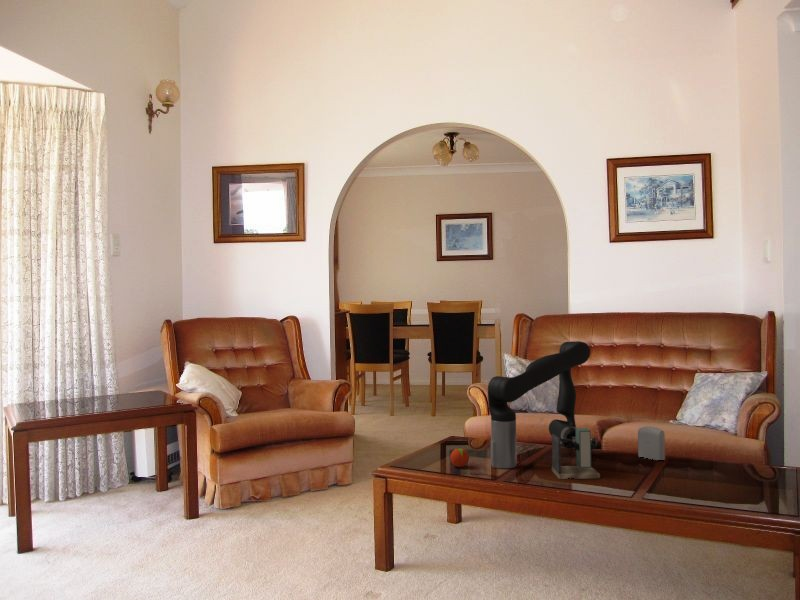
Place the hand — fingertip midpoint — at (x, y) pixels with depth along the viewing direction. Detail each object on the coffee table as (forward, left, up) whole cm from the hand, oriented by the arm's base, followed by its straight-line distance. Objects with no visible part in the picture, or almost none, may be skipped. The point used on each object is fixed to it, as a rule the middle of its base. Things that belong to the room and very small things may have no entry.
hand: (585, 447), depth 243 cm
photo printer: (+32, +24, -10) cm, 41 cm away
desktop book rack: (-3, +2, -10) cm, 11 cm away
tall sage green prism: (0, +2, -7) cm, 7 cm away
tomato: (-43, +15, -10) cm, 46 cm away
